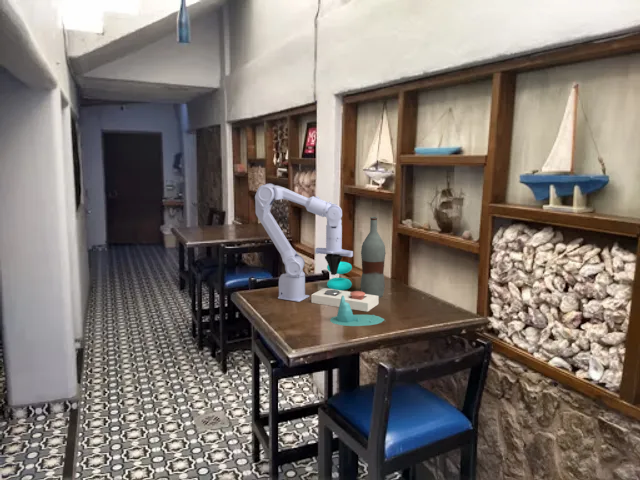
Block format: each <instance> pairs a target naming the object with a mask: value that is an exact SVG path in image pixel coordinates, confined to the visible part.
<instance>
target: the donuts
mask: <svg viewBox="0 0 640 480" xmlns="http://www.w3.org/2000/svg"><path fill="white" fill-rule="evenodd" d="M326 268H327V269H326V270H327V271H328V272H330V268H329V265H328V264H327V266H326ZM352 269H353V266H352V264H351V263H349V262H347V261H340V263H339V266H338V270H337V274H336V275H343V274H348V273H350V272H351V271H352ZM326 283H327V284H326V286H327V288H328V289H335V290H342V291H348V290H349V289H350V288H352V286H353V283H352V281H351V280H350V279H349V278H345V277H333V278H330V279H329V280H328V281H327V282H326Z"/></svg>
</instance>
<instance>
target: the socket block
mask: <svg viewBox="0 0 640 480" xmlns="http://www.w3.org/2000/svg"><path fill="white" fill-rule="evenodd" d="M327 290H335V289H330V288H329V287H323V288H321V289H320V290H318V291H316V292H314V293H312V294H311V297H310V298H311V303H312V304H317V305H318V304H319V305H324V306H331V307H337V308H339V305H340V301H341V297H342V296H344V297H345V302H347V303H349V304H350V307H351V310H353V311H360V312H361V311H362V312H366V313H368V312H370V311H371V310H372V309H373V308H375V307H376V306H378V305H379V304H380V303H379V302H380V301H379V299H380V298H379V296H376V295H369V294H365V295H364V296H363V299H362V300H358V299H352V296H351V295H350V293H351V292H352V291H348V290H338V291H340V294H338V295H337V296H331V295H327V294H326V293H325V291H327Z"/></svg>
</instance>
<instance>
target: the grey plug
mask: <svg viewBox="0 0 640 480" xmlns="http://www.w3.org/2000/svg"><path fill="white" fill-rule="evenodd" d="M325 293H326V294H327V295H331V296H337V295H338V294H340V291H338V290H327V291H325Z"/></svg>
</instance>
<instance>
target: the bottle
mask: <svg viewBox="0 0 640 480" xmlns="http://www.w3.org/2000/svg"><path fill="white" fill-rule="evenodd" d="M369 225H370V227H369V233H368V234H367V236H366V238H365V239H364V240H363V242H362V243H361V244H362V245H361V251H360V256H361V271H362V272H361V273H362V274H361V279H360V291H362V292H364V293H365V294H369V295H376V296H379V299H381V298H383V296H384V293H385V287H386V284H385V274H384V270H385V261H386V245H385V242H384V241H383V239H382V237H381V235H380V234H379V232H378V217H377V216H371V217H370V224H369Z"/></svg>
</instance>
